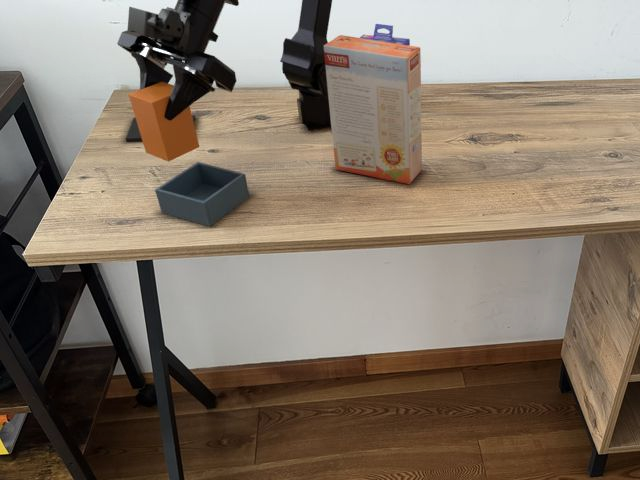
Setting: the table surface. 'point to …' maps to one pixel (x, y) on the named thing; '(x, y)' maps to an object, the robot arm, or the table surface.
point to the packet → (162, 123)
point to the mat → (135, 133)
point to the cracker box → (375, 107)
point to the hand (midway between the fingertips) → (154, 114)
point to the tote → (202, 193)
